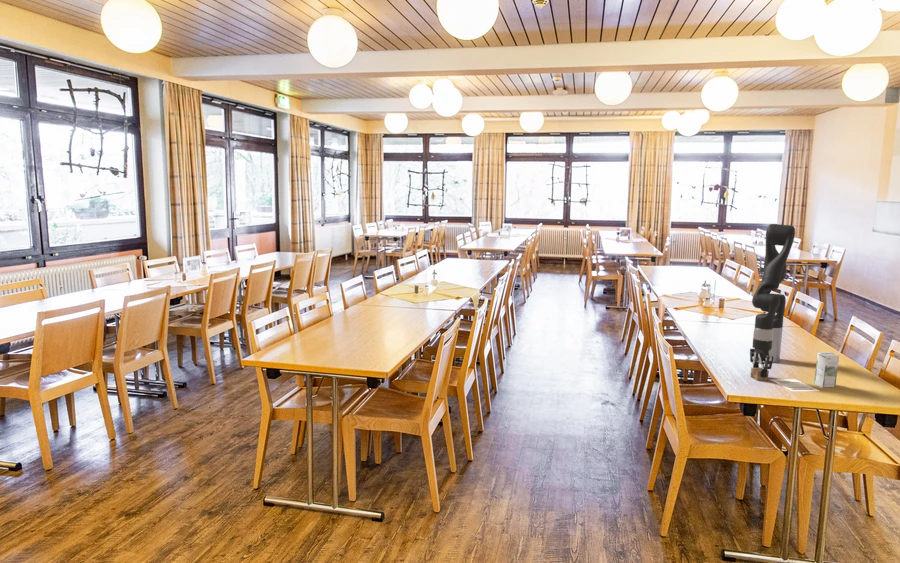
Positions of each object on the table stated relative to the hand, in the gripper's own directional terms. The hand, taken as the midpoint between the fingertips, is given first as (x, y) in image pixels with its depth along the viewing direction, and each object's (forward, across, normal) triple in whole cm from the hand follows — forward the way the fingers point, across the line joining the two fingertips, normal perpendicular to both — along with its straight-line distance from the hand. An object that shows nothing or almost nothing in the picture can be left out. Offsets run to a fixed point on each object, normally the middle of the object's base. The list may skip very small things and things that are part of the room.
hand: (759, 375), depth 258 cm
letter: (+2, +9, +10) cm, 14 cm away
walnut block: (+2, 0, 0) cm, 2 cm away
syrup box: (+2, +10, +23) cm, 25 cm away
